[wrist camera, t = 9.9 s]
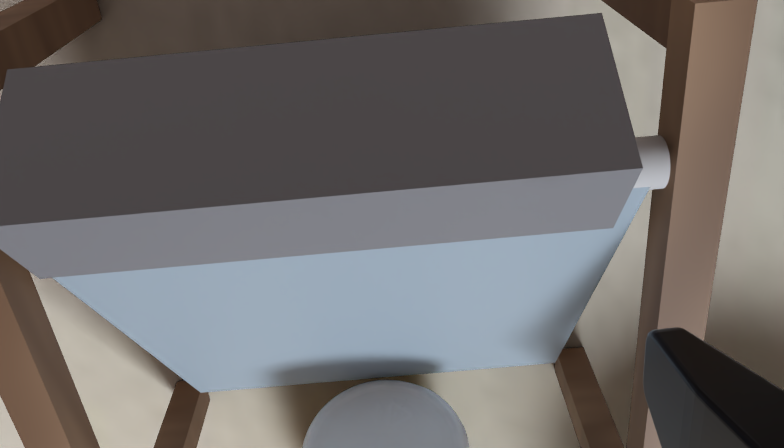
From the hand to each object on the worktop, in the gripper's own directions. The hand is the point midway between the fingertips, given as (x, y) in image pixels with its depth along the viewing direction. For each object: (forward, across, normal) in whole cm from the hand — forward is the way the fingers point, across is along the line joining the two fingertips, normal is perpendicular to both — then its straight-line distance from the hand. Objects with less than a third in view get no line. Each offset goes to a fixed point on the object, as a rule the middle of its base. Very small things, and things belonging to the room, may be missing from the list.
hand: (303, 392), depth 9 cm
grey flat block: (+9, 0, +3) cm, 9 cm away
